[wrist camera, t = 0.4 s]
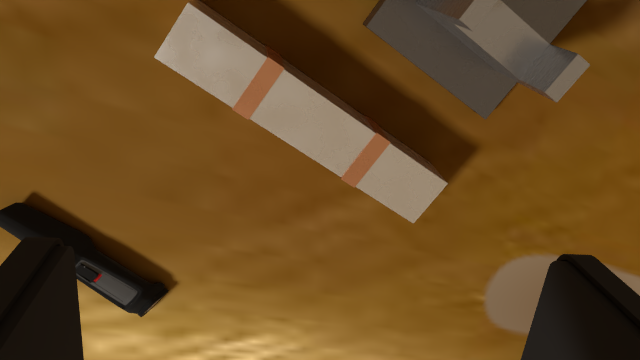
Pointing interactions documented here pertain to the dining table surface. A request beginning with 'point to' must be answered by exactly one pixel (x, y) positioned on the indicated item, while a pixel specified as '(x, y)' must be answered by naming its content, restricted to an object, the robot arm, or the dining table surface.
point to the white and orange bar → (298, 110)
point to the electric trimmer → (86, 260)
